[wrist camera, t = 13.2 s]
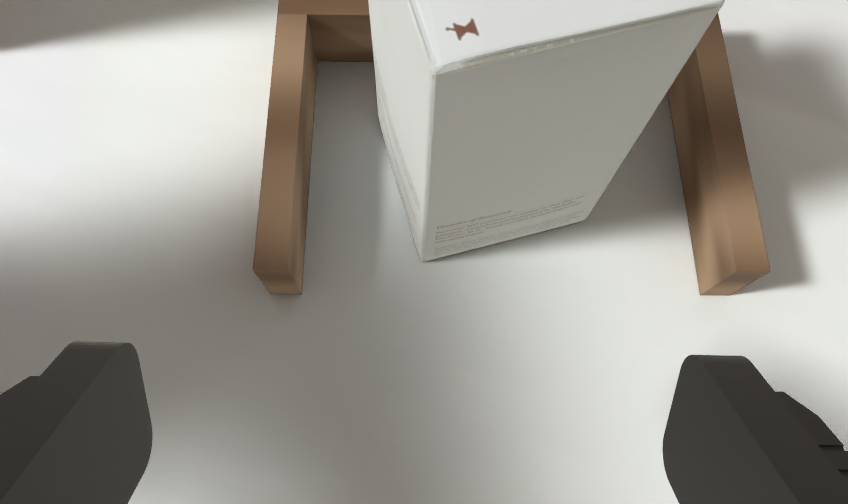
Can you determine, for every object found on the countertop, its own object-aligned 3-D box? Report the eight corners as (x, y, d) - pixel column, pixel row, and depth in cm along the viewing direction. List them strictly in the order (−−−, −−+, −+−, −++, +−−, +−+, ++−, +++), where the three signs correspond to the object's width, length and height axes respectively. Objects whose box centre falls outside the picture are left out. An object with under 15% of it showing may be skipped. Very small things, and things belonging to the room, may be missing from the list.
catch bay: (730, 295, 25) (770, 271, 22) (271, 293, 25) (252, 269, 22) (685, 42, 29) (714, -5, 26) (292, 38, 29) (279, -10, 26)
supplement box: (590, 223, 26) (740, 7, 14) (417, 266, 25) (422, 75, 13) (534, 77, 28) (621, -211, 17) (374, 112, 28) (346, -165, 16)
